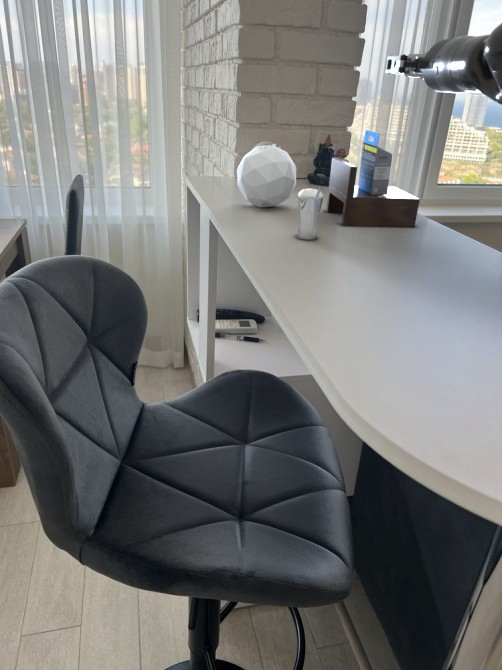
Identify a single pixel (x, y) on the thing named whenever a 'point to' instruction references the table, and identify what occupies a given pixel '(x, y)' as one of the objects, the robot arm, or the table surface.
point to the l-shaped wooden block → (367, 201)
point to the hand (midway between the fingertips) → (414, 67)
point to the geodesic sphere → (266, 176)
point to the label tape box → (374, 166)
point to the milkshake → (309, 212)
